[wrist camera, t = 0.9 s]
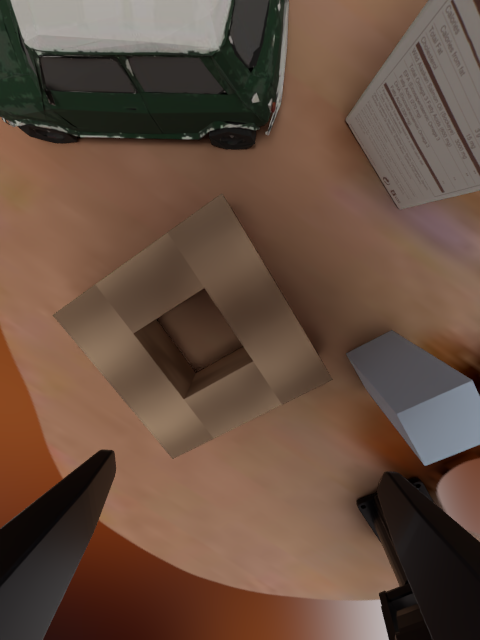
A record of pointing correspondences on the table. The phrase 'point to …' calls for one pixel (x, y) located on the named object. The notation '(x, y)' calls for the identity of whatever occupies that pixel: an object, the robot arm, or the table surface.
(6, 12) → the miniature car
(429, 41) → the supplement box
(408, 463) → the table surface
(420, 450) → the peg
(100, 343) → the socket block
